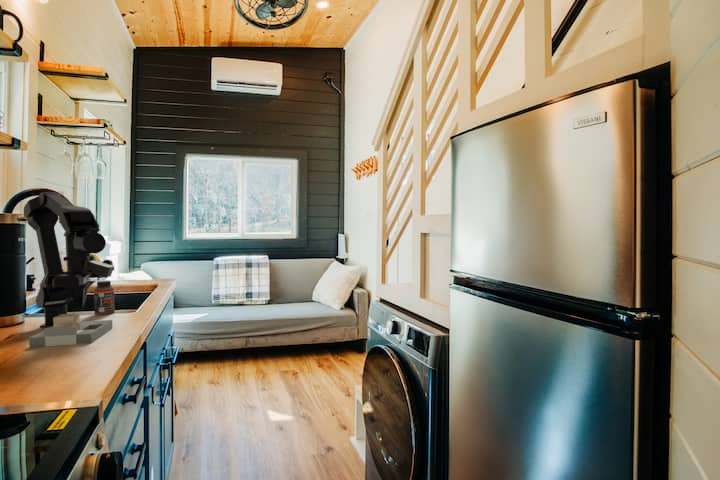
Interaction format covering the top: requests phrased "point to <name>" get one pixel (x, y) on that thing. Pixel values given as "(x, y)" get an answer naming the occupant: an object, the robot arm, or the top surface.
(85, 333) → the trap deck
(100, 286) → the supplement bottle
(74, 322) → the maple block
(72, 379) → the top surface
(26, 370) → the top surface
